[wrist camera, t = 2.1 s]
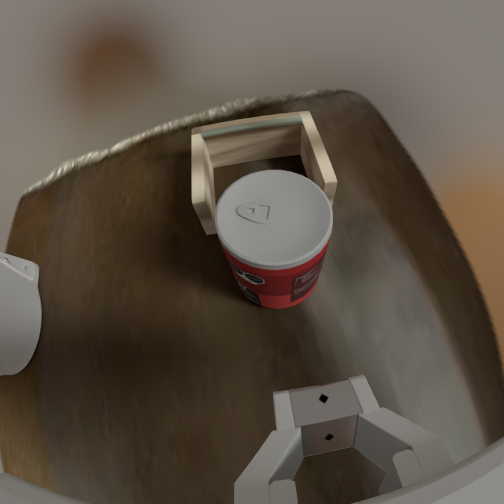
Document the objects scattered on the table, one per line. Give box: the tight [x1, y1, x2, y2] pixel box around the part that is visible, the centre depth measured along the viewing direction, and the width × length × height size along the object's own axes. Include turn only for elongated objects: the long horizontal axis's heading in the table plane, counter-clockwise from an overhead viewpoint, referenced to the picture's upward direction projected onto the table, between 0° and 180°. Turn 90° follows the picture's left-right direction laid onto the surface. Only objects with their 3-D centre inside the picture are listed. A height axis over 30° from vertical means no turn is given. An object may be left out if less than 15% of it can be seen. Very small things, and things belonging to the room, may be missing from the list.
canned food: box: [215, 170, 333, 309], centre depth 25 cm, size 8×8×11 cm
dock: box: [192, 111, 337, 235], centre depth 31 cm, size 11×13×6 cm
